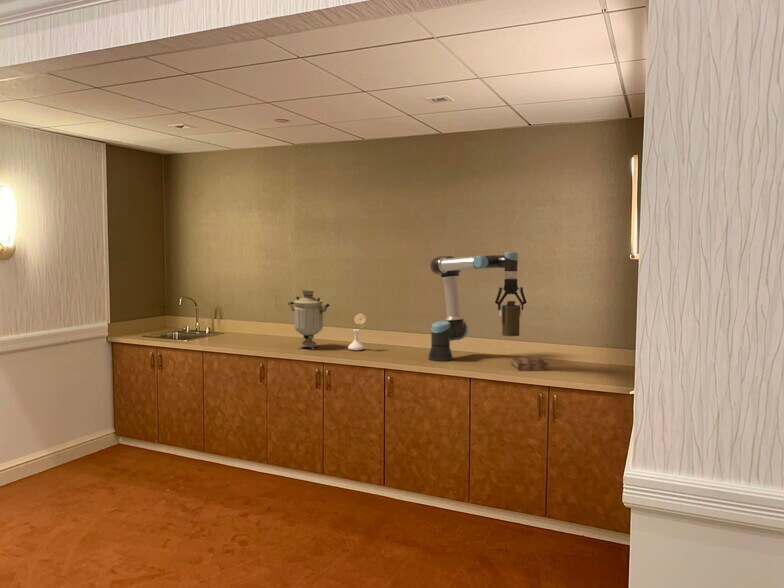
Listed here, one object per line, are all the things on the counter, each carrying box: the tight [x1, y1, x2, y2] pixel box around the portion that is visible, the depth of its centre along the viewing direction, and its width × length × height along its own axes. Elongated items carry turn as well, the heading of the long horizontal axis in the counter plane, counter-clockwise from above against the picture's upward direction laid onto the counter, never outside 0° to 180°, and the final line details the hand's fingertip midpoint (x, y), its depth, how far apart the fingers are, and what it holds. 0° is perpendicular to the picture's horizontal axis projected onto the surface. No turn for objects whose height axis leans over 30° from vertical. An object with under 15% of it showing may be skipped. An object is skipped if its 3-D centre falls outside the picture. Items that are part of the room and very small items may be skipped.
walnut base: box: [510, 357, 550, 371], centre depth 356 cm, size 18×18×4 cm
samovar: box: [287, 289, 330, 350], centre depth 418 cm, size 30×26×40 cm
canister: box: [500, 300, 521, 337], centre depth 354 cm, size 11×10×20 cm
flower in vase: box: [347, 313, 367, 351], centre depth 408 cm, size 13×11×25 cm
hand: (510, 315), depth 354 cm, fingers closed on canister, 11 cm apart
